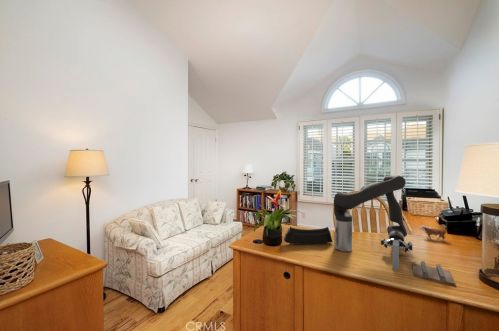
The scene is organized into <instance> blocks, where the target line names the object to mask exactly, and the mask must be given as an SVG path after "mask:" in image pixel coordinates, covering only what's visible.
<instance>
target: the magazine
mask: <svg viewBox="0 0 499 331" xmlns="http://www.w3.org/2000/svg"><path fill="white" fill-rule="evenodd" d="M283 241H284V243H287V244H289V246H291V245H300V246H319V245H324V244H328V243H329V244H330V243H333V237H332V234H331V231H330V229H329V227H328V226H327V227H323V228H315V229H314V228H313V229H304V228H303V229H302V228H295V227H292V226H289V228H287V231H286V232H285V234H284V238H283Z"/></svg>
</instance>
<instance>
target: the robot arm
mask: <svg viewBox="0 0 499 331" xmlns="http://www.w3.org/2000/svg"><path fill="white" fill-rule="evenodd" d="M382 180H383V181H376V182H371V183H368V184H366V185H363V186H362V187H361V188H360V190H358V191H357V192H354V193H353V192H352V193H345V192H341V191H340V192H337V193H336V194H335V195H334V197H333V214H334V217H335V221H334V222H335V225H334V226H335V230H334V234H333V236H334V237H333V240H334V243H333V244H334V245H333V246H334V248H333V249H336V250H338V251H341V252H351V251H352V250H353V216H352V215H351V213H349V211H348V210H353V209H355V208H357V207H358V206H360V205H362V204H364V203H367V202H369V201H372V200H375V199H377V198H379V197H381V196H385V197H386V201H387V206H388V218H389V221H390V222H393V223H396V224H398V225H393V224H391V225H390V224H389V225H388V226H387V228H386V233H387V235H388V238H385V237H381V239H380V245H381V246H383V247H384V248H386V249H388V247H393V240H399V249H404V252H405V253H406V252H408V251H409V250H410V251H413V244H412V242H411V241H409V242H406V241H405V237H407V235H408V231H407V229H406V227H405V224H404V220H403V212H402V207H401V205H400V203H399V202H398V200H397V199H396V196H395V194H394V192H395V191H399V190H402V189H404V187H405V186H406V182H407V181H406V179H405V177H403V176H401V175H396V174H395V175H386V176H384V178H383V179H382Z"/></svg>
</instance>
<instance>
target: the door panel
mask: <svg viewBox="0 0 499 331" xmlns="http://www.w3.org/2000/svg"><path fill="white" fill-rule="evenodd" d="M399 256H400V248H399V240H393V246H392V261H391V262H392V268H391V269H392V270H395V271H399V268H400V267H399V266H400V265H399V262H400V261H399V260H400V257H399Z"/></svg>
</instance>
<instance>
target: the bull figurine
mask: <svg viewBox="0 0 499 331" xmlns="http://www.w3.org/2000/svg"><path fill="white" fill-rule="evenodd" d="M419 229H420V230H422V231H423V232H424V234H426V235H427V237H426V240H429V239H431V236H432V235H433V236H435V237H437V236H438V237H437V238H436V240H440V239H441V241H442V242H444V241H445V238H446V237H445V235H446V233H447V232H446V229H441V228H433V227H429V226H425V225H421V226H420V227H419Z"/></svg>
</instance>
